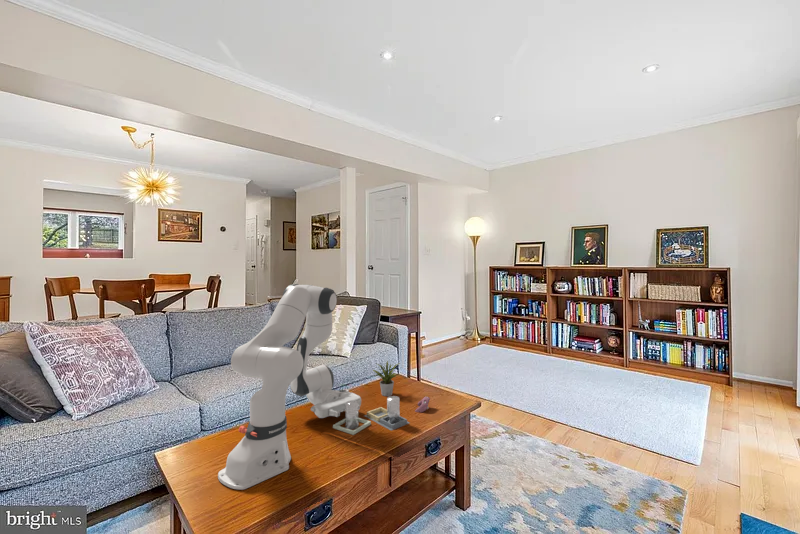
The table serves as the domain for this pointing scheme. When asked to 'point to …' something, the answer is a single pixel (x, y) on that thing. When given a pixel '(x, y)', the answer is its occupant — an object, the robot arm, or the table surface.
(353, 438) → the table surface
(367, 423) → the tray
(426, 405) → the video game controller
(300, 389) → the robot arm
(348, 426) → the steel billet
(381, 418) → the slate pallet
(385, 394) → the house plant
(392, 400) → the cylinder
